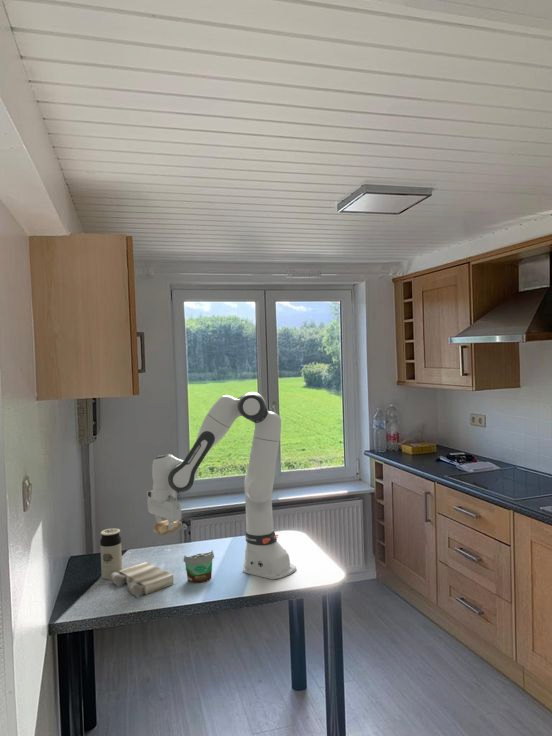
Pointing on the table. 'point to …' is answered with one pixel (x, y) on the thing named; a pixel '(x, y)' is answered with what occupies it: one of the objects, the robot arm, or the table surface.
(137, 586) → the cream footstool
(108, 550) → the travel mug
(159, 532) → the tan rectangular block
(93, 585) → the table surface
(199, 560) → the food container
